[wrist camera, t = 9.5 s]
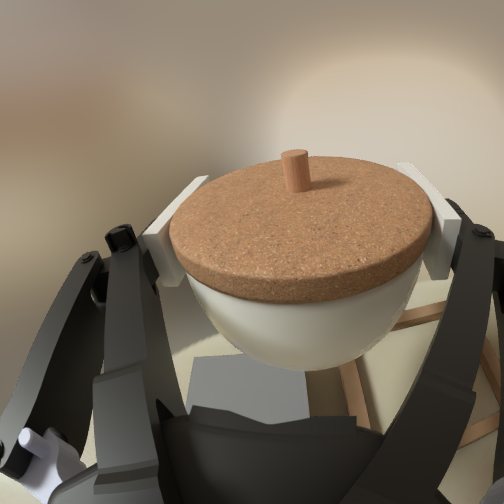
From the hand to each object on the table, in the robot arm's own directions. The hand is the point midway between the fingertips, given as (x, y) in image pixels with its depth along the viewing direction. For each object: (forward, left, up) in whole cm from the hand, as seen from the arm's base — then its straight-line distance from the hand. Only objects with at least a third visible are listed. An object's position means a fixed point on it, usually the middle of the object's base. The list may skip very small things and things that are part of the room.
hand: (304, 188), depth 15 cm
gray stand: (+6, +4, -19) cm, 20 cm away
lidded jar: (+1, +4, -6) cm, 8 cm away
